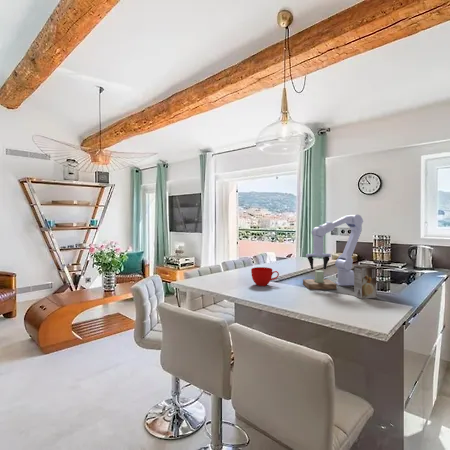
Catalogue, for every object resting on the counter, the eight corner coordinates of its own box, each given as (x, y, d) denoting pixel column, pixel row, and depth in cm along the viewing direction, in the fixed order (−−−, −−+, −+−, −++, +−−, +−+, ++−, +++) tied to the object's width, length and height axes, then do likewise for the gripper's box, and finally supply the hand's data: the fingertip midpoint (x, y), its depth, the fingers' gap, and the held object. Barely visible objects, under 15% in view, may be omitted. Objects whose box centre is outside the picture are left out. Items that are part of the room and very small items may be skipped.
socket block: (328, 284, 195) (328, 279, 195) (336, 289, 181) (336, 284, 181) (302, 284, 195) (302, 279, 195) (308, 289, 181) (308, 284, 181)
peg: (321, 285, 190) (321, 270, 189) (323, 286, 186) (323, 271, 185) (314, 285, 190) (315, 270, 189) (316, 286, 186) (316, 271, 185)
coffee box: (368, 294, 168) (368, 265, 168) (376, 297, 162) (377, 267, 162) (353, 296, 166) (353, 266, 165) (361, 299, 160) (362, 267, 159)
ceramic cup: (278, 288, 185) (278, 271, 185) (250, 286, 188) (250, 270, 188) (279, 283, 198) (279, 267, 197) (252, 282, 201) (252, 266, 201)
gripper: (308, 247, 185) (308, 270, 185) (332, 247, 185) (332, 270, 185) (305, 246, 192) (305, 268, 192) (328, 246, 192) (328, 268, 192)
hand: (318, 269), depth 189 cm, fingers open, 7 cm apart
